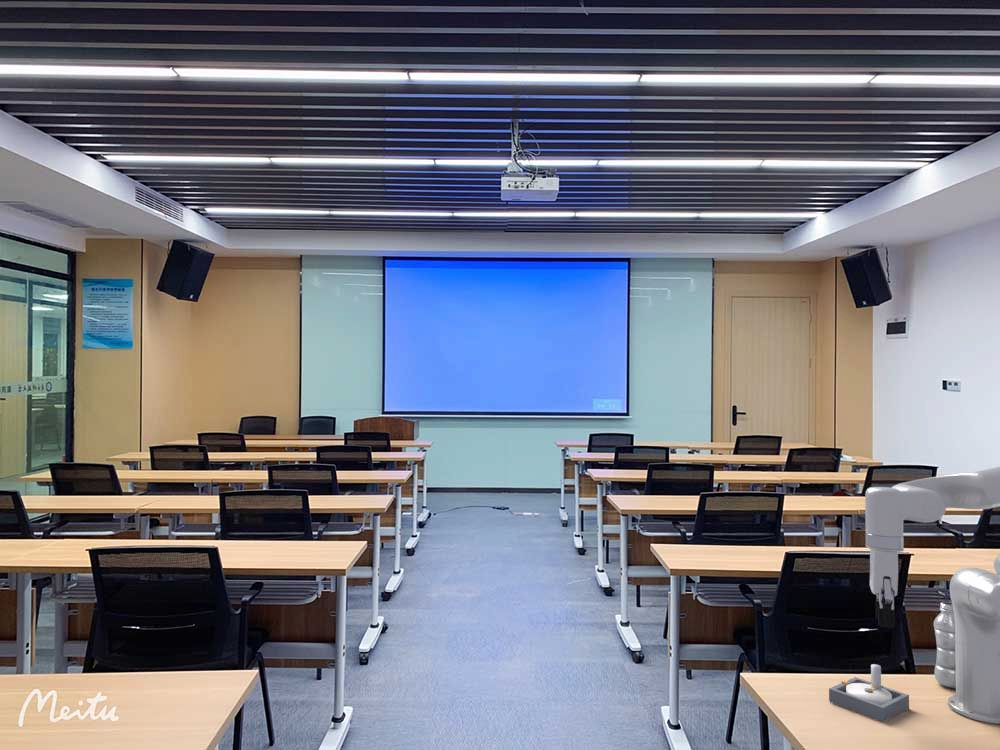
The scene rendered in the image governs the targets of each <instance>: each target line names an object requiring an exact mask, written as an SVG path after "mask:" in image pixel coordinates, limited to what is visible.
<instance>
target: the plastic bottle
mask: <svg viewBox="0 0 1000 750" xmlns="http://www.w3.org/2000/svg"><path fill="white" fill-rule="evenodd" d="M939 604H940V605H939V606H940V607H939V611H940V613H939V614H938V615H937V616H936V617H935V619H934V620H933V628H934V629H933V630H934V635H935V640H936V641H935V643H936V658H935V660H936V662H935V665H934V672H933V673H934V677H935V678H934V679H935V680H936V682H937V683H938V684H939V685H942V686H943V687H946V688H949V689H950V688H952V689H956V660H955V618H954V610H953V605H952V601H941V602H940V603H939Z"/></svg>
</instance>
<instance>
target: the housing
mask: <svg viewBox="0 0 1000 750" xmlns="http://www.w3.org/2000/svg"><path fill="white" fill-rule="evenodd" d="M852 683H864V684H870V685H871V681H867V680H865V679H862V678H859V677H853V678H850V679H848V680H841V683H839V684H836V685H835V686H832V687H830V688H828V702H829V701H830V702H829V703H831V702H833V703H832V704H834V703H835V704H834V705H836V704H838V705H837V706H839V705H840V706H839V707H842V708H844V707H845V709H847V708H848V709H847V710H850V711H852V710H854V711H853V712H855V711H856V712H855V713H858V712H859V713H858V714H860V713H861V714H860V715H863V714H864V715H863V716H866V715H867V716H866V717H868V716H870V717H869V718H871V717H872V718H871V719H874V718H875V719H874V720H876V719H877V721H879V722H881V721H882V723H885V722H887V721H888V720H890V719H892V718H894V717H895V716H898V715H899V713H900V714H902V713H903V712H905V711H907V710H908V709H910V694H908V693H904V692H902V691H901V692H900V691H899V690H895V689H892V688H889V687H886V686H884V684H882V683H881V688H883V689H885V690H887V691H888V692H890V693H891V695H892V700H890V701H888V702H886V703H884V704H882V705H879V704H876V703H873V702H870V701H868V700H865V699H862V698H859V697H856V696H854V695H851V694H848V693H846V686H847V685H848V684H852ZM901 712H902V713H901ZM897 714H898V715H897ZM886 720H887V721H886ZM884 721H885V722H884Z"/></svg>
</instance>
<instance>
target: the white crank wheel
mask: <svg viewBox="0 0 1000 750" xmlns="http://www.w3.org/2000/svg"><path fill="white" fill-rule="evenodd" d="M870 682H871V685H870V684H864V683H852V684H848V685H847V686H846V693H848V694H851V695H854V696H856V697H859V698H862V699H865V700H868V701H870V702H873V703H876V704H879V705H882V704H884V703H886V702H888V701H890V700H892V695H891V693H890V692H888V691H887V690H885V689H883V688H881V684H882V667H881V665H880V664H875V663H873V664H871V665H870Z"/></svg>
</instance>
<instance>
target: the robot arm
mask: <svg viewBox="0 0 1000 750" xmlns="http://www.w3.org/2000/svg"><path fill="white" fill-rule="evenodd" d="M864 494H865V496H864V497H865V503H864V504H865V510H864V511H865V514H864V515H865V518H864V519H865V547H866V548H867V549H869V550H870V554H869V587H870V591H871V593H872V594H873V595H876V600H875V618H876V619H877V620H878V621H877V623H878V624H877V625H878V627H881V628H882V627H883V628H889V629H895V628H896V610H895V597H896V596H898V590H899V588H898V587H899V552H900V553H901V552H904V548H905V547H904V545H905V544H904V521H912V522H917V523H918V522H919V523H934V522H936V521H939V520H940V519H942V517H944V516H945V513H946V511H947V509H951V508H952V509H964V510H990V509H993V508H998V507H1000V466H997V467H991V468H987V469H982V470H977V471H971V472H965V473H964V472H963V473H955V474H950V475H949V474H948V475H941V476H933V477H932V476H931V477H925V478H920V479H914V480H910V481H906V482H900V483H898V484H895V485H893V486H891V487H888V486H870V487H868V488H867V489H866V491H865V493H864ZM993 569H994V571H995V572H992V571H989V570H985V569H982V568H979V567H964V568H961V569H959V570H956V572H955V573H954V574H953V575H952V577H951V578H950V581H949V582H950V583H949V595H950V596H949V597H950V600H951V601H950V602H952V605H953V610H954V618H955V660H956V688H955V694H954V695H951V696H949V697H948V698H947V705H948V707H949V708H950V709H951V710H952V711H954V712H955V713H957V714H959V715H961V716H963V717H966V718H969V719H972V720H975V721H979V722H984V723H988V724H996V725H1000V553H999V554H998V555H997V556H996V557H995V559H994V563H993Z"/></svg>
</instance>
